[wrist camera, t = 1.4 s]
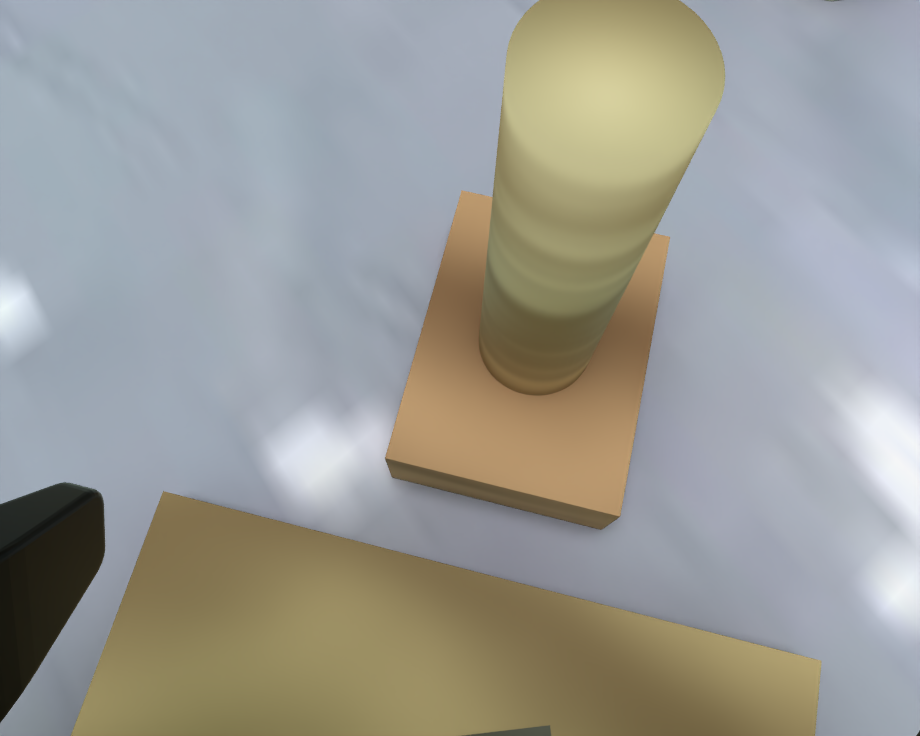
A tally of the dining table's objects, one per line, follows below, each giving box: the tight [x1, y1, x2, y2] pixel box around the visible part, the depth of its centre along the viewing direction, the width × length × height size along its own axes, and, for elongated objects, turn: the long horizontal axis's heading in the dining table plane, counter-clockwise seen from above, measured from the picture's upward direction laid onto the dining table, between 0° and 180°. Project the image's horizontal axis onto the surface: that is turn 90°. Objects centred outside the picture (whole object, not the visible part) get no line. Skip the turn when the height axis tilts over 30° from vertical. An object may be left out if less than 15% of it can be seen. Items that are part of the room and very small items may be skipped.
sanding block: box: [385, 0, 725, 530], centre depth 17 cm, size 8×6×13 cm
